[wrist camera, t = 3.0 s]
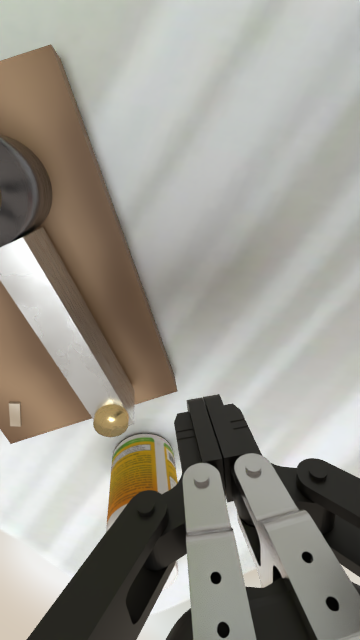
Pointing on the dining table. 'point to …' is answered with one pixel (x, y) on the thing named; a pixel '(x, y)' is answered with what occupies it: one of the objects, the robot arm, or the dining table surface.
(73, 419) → the walnut stand
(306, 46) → the dining table surface
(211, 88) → the dining table surface
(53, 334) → the bar
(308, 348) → the dining table surface
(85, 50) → the dining table surface
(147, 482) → the supplement bottle
